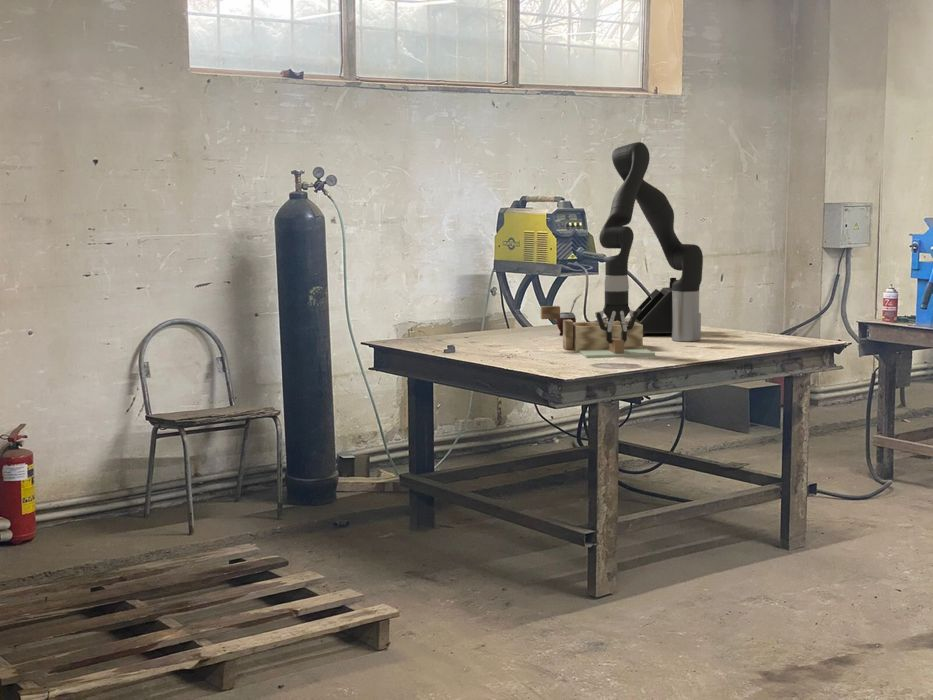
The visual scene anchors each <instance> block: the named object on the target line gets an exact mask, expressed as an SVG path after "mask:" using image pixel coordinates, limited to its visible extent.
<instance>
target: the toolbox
mask: <svg viewBox="0 0 933 700" xmlns="http://www.w3.org/2000/svg"><path fill="white" fill-rule="evenodd" d="M625 321H626V326H628V323H629V320H628V321H627V320H625ZM603 322H604V325H605V327H606V326H607V321H603ZM621 331H622V328H621V324H620V321H614V322H613V325H612V329H611V332H612V338H619V339H621ZM643 338H644V336H643V325H641V324H639V323H637V322H635V323H634V326H633V328H632V329H630V330H628V331H627V340H626V341H625V343H624V349H644V348H643V346H644V343H643V342H644V341H643ZM562 348H563V349H564V350H565V351H571V350H572V351H576V352H579V351H584V350H609V343H608V342H607V340H606V331H605V330H602V329H601V328H600V326H599V323H598V321H587V322H576V323H573V321H572V320H563V336H562Z"/></svg>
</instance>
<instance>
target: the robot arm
mask: <svg viewBox="0 0 933 700" xmlns="http://www.w3.org/2000/svg"><path fill="white" fill-rule="evenodd" d="M611 154H612V155H611V160H612V164H613V167H614V169H616V172H617V173H618V175H619V177H620V178H621V180H622V181H623V183H622V184H621V185H620V186H619V188H618V190H617V191H616V192H615V194H614V197H613V199H612V203H611V208H610V212H609V214H608V217H607V219H606V221H605V222H604V224H603V226H602V227H601V230H600V233H599V240H598V241H599V244H600V245H601V247H602V248H604V249H620V251H619V253H618V254H617V255H611V256H608V257H606V258H605V264H604V265H605V266H604V267H605V270H604V271H605V272H604V273H605V279H604V306H603V309H602V310H600V311H596V312H595V313H594V314H595V317H596V320H597V322H598V323H599V326H600V328H601V329H602V330H605V331H606V340H607V342H608V343H609V344H612V332H611V329H612V325H613V322H620V324H621V328H622V331H621V340H623V341H624V343H625V341H626V340H627V331H628V330H630V329H632V328H633V326H634V323H635V320H636V317H637V315H638V312H636V311H635V310H632V309H631V308H630V306H629V289H630V286H629V275H628V274H629V272H628V271H629V270H628V268H629V267H628V266H629V264H628V263H629V257H630V252H631V249H632V245H633V243H634V236H635V235H634V231H633V230H632V228H631V227H630V226H627V225H629V224H630V223H631V222H632V218H633V213H634V208H635V203H637V204H638V206H639V208H640V209H641V211H642V213H643V215H644V217H645V218H646V220H647V222H648V224H649V225H650V228H651V229H652V230H653V233H654V235H655V237H656V239H657V240H658V242H659V244H660V247H661V250H662V252H663V254H664V256H665V259H666V261H667V263H668V265H669V266H670V267H671V268H672V269H673V270H675V271H681V277H680V278H679V279H677V280H678V281H675V282H674V283H673V285H672V290H673V291H672V333H671V340H672V341H675V342H696V341H698V342H699V341H701V339H702V338H701V337H702V335H701V333H702V329H701V328H702V326H701V325H702V324H701V323H702V314H701V312H700V287H701V283H702V279H703V265H704V256H703V250H702V249H701V248H700V246H699V245H697V244H692V243H682V242H681V241H680V239H679V238H678V236H677V234H676V231H675V229H674V225H675V223H674V222H675V211H674V209H673V207H672V205H671V203H670V201H669V200H668V198H667V196H666V195H665V194H664V192H662V191H661V190H659V188H657V187H655V186H653V185H652V184H650V183H649V182H647V181H646V180H644V177H645V175H646V173H647V170H648V168H649V164H650V160H651V159H650V151H649V149H648V147H647V145H646V144H645V143H643V142H641V141H638V142H633V143H628V144H625V145H621V146H619V147H617V148H615V149H613V151H612V153H611ZM604 315H605V316H606V318H607V321H606V322H607V326H606V327H605V325H604V322H605V321H604V320H603V318H604ZM628 315H629V320H628V321H629V323H628V326H626V321H627V320H626V318H627V316H628Z"/></svg>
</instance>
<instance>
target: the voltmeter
mask: <svg viewBox="0 0 933 700" xmlns="http://www.w3.org/2000/svg"><path fill="white" fill-rule="evenodd" d="M678 280H679V279H677V277H670V278H669V282H668V283H669V287H662V288H661V289H660V290H658V289H657V288H655V289H654V290H653V291H652V292H651V293H650V294H649V295H648V296H647V297H646V299H644V301H643V302H641V304H640V305H639V306H638V307H637V308H636V309H635V310H634V311H636V312H638V315H637V317H636V320H635V322H637V323H639V324H641V325H643V337H646V334H664V333H665V334H670V333H671V334H672V291H673V290H672V285H673V283H674V282H675V281H678ZM650 296H651V297H652V299H651V298H650Z"/></svg>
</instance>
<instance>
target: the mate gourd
mask: <svg viewBox="0 0 933 700" xmlns="http://www.w3.org/2000/svg"><path fill="white" fill-rule="evenodd" d="M581 296H582V293H580V294H578V296H576V297H575V299H573V303H572V306H571V309H570V311H569V312H568V311H567V312H560V319H556V325H557V328H558V330H559V336H560V337H563V320H572V321H573V323H577V321H576V320H577V319H576V315H575V313H574V312H573V310H574V306H575V305H576V304H575V303H576V302H577V299H579V298H580V297H581Z"/></svg>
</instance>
